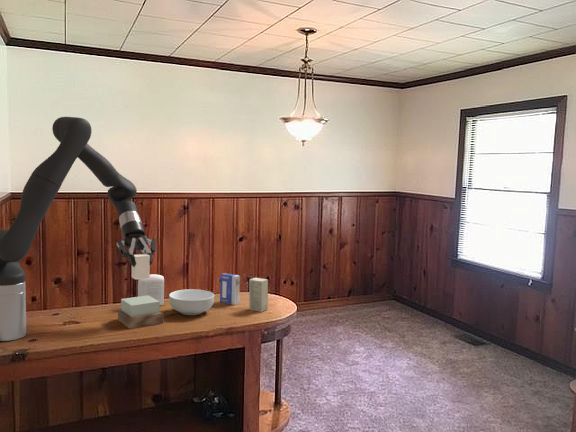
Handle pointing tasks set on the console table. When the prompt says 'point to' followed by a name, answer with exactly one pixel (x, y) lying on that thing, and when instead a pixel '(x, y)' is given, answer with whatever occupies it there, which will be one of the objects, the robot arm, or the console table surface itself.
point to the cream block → (141, 267)
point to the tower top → (140, 306)
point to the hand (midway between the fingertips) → (142, 264)
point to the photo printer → (152, 287)
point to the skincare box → (258, 294)
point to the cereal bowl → (191, 301)
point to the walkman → (229, 288)
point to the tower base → (140, 319)
